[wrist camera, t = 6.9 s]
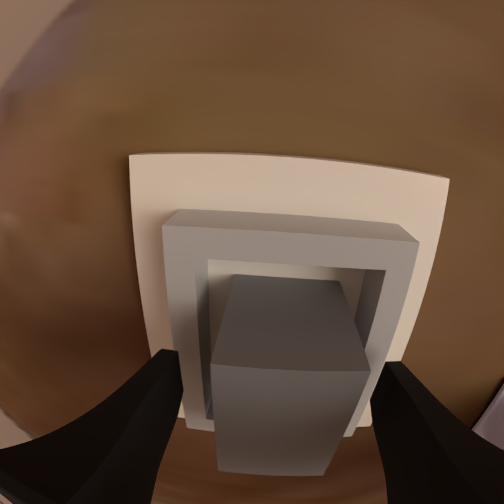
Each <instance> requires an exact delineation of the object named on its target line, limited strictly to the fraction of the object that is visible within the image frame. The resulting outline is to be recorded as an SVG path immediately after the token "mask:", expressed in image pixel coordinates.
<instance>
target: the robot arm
mask: <svg viewBox="0 0 504 504" xmlns="http://www.w3.org/2000/svg"><path fill="white" fill-rule="evenodd" d="M183 392H184V388H183V382H182V375H181V368H180V361H179V354H178V351H175V350H168V349H160V350H159V351H158V352H157V353H156V354H155V355H154V356H153V357H152V358H151V359H150V360H149V361H148V362H147V363H146V364H145V365H144V366H143V367H142V368H141V369H139V370H138V371H137V372H136V373H135V374H134V375H133V376H132V377H131V378H130V379H129V380H128V381H126V382H125V383H124V384H123V385H122V386H121V387H120V388H119V389H117V390H116V391H115V392H114V393H112V394H111V395H110V396H109V397H108V398H106V399H105V400H104V401H103V402H101V403H100V404H98V405H97V406H96V407H94V408H93V409H91V410H90V411H88V412H87V413H85V414H84V415H82V416H81V417H79V418H78V419H76V420H74V421H72V422H71V423H69V424H67V425H65V426H63V427H61V428H59V429H57V430H55V431H53V432H51V433H49V434H46V435H44V436H42V437H39V438H37V439H34V440H31V441H28V442H25V443H22V444H19V445H15V446H12V447H8V448H4V449H0V494H2V495H3V496H4V497H5V498H7V499H8V500H9V501H10V502H12V503H13V504H151V499H152V494H153V490H154V485H155V481H156V476H157V472H158V469H159V466H160V463H161V460H162V457H163V454H164V452H165V449H166V446H167V444H168V441H169V438H170V436H171V433H172V430H173V428H174V425H175V422H176V419H177V417H178V413H179V409H180V405H181V401H182V396H183ZM370 407H371V416H372V423H373V427H374V431H375V435H376V439H377V443H378V447H379V451H380V455H381V459H382V464H383V468H384V472H385V478H386V486H387V498H388V504H504V384H503V385H502V387H501V388H500V390H499V392H498V393H497V395H496V396H495V398H494V399H493V401H492V402H491V404H490V405H489V407H488V408H487V409H486V411H485V412H484V414H483V415H482V416H481V418H480V419H479V420H478V422H477V423H476V424H475V426H474V427H473V428H472V430H471V429H470V428H469V427H467V426H466V425H465V424H464V423H462V422H461V421H460V420H459V419H458V418H456V417H455V416H454V415H453V414H452V413H451V412H450V411H449V410H448V409H447V408H446V407H445V406H443V405H442V404H441V403H440V402H439V401H438V400H437V399H436V398H435V397H434V396H433V395H432V394H431V393H430V391H429V390H428V389H427V388H426V387H425V386H424V385H423V384H422V383H421V382H420V381H419V380H418V379H417V378H416V377H415V376H414V375H413V373H412V372H411V371H410V370H409V369H408V368H407V367H406V366H405V365H404V364H403V363H402V362H401V361H387V362H385V363H384V366H383V368H382V371H381V373H380V376H379V378H378V381H377V383H376V386H375V388H374V390H373V393H372V395H371V397H370ZM0 504H3V503H2V502H1V501H0Z"/></svg>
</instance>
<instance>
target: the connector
mask: <svg viewBox="0 0 504 504" xmlns="http://www.w3.org/2000/svg"><path fill="white" fill-rule="evenodd" d="M210 369H211V386H212V402H213V417H214V430H215V443H216V454H217V465H218V471H224V472H233V473H243V474H256V475H274V476H323V475H324V473H325V471H326V469H327V467H328V465H329V463H330V462H331V460H332V458H333V456H334V454H335V452H336V450H337V448H338V446H339V444H340V442H341V440H342V438H343V436H344V434H345V431H346V429H347V427H348V425H349V423H350V421H351V418H352V416H353V414H354V412H355V409H356V407H357V405H358V402H359V400H360V398H361V395H362V393H363V390H364V388H365V385H366V383H367V380H368V378H369V375H370V373H371V369H370V366H369V363H368V360H367V357H366V354H365V351H364V348H363V345H362V342H361V339H360V336H359V333H358V330H357V328H356V325H355V322H354V319H353V316H352V314H351V311H350V308H349V305H348V303H347V300H346V297H345V295H344V292H343V289H342V287H341V284H340V282H339V281H334V280H318V279H302V278H286V277H272V276H257V275H244V274H235V275H234V279H233V282H232V286H231V290H230V293H229V297H228V300H227V304H226V308H225V311H224V315H223V319H222V322H221V326H220V330H219V333H218V337H217V341H216V344H215V348H214V352H213V355H212V359H211V363H210Z"/></svg>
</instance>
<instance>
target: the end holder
mask: <svg viewBox="0 0 504 504" xmlns="http://www.w3.org/2000/svg"><path fill="white" fill-rule="evenodd" d="M129 168H130V192H131V209H132V222H133V234H134V245H135V254H136V263H137V272H138V279H139V287H140V294H141V301H142V307H143V314H144V320H145V325H146V331H147V337H148V342H149V347H150V352H151V357H153V356H154V355H155V354H156V353H157V352H158V351H159V350H160V349H168V350H175V351H178V354H179V361H180V368H181V375H182V382H183V388H184V392H183V396H182V401H181V405H180V409H179V413H178V417H181V418H185V420H186V425H187V428H192V429H199V430H206V431H213V432H215V430H214V417H213V402H212V386H211V369H210V363H211V359H212V355H213V352H214V348H215V344H216V341H217V337H218V333H219V330H220V326H221V322H222V319H223V315H224V311H225V308H226V304H227V300H228V297H229V293H230V290H231V286H232V282H233V279H234V275H235V274H244V275H257V276H272V277H286V278H302V279H318V280H334V281H339V282H340V284H341V287H342V289H343V292H344V295H345V297H346V300H347V303H348V305H349V308H350V311H351V314H352V316H353V319H354V322H355V325H356V328H357V330H358V333H359V336H360V339H361V342H362V345H363V348H364V351H365V354H366V357H367V360H368V363H369V366H370V369H371V373H370V375H369V378H368V380H367V383H366V385H365V388H364V390H363V393H362V395H361V398H360V400H359V402H358V405H357V407H356V409H355V412H354V414H353V416H352V418H351V421H350V423H349V425H348V427H347V429H346V431H345V434H344V436H343V437H348V436H352V435H353V433H354V431H355V429H356V427H365V426H370V425H371V423H372V416H371V407H370V397H371V395H372V393H373V390H374V388H375V386H376V383H377V381H378V378H379V376H380V373H381V371H382V368H383V366H384V363H385V362H387V361H401V358H402V356H403V353H404V351H405V348H406V346H407V343H408V340H409V338H410V335H411V332H412V329H413V327H414V324H415V321H416V318H417V315H418V312H419V309H420V306H421V303H422V300H423V296H424V293H425V290H426V286H427V283H428V279H429V276H430V272H431V269H432V265H433V261H434V257H435V253H436V249H437V244H438V240H439V236H440V231H441V226H442V221H443V216H444V211H445V205H446V200H447V193H448V187H449V180H450V179H448V178H445V177H442V176H440V175H436V174H431V173H425V172H420V171H414V170H409V169H403V168H396V167H390V166H383V165H376V164H369V163H362V162H354V161H345V160H336V159H327V158H317V157H305V156H293V155H279V154H261V153H237V152H152V153H137V154H133V155H129Z"/></svg>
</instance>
